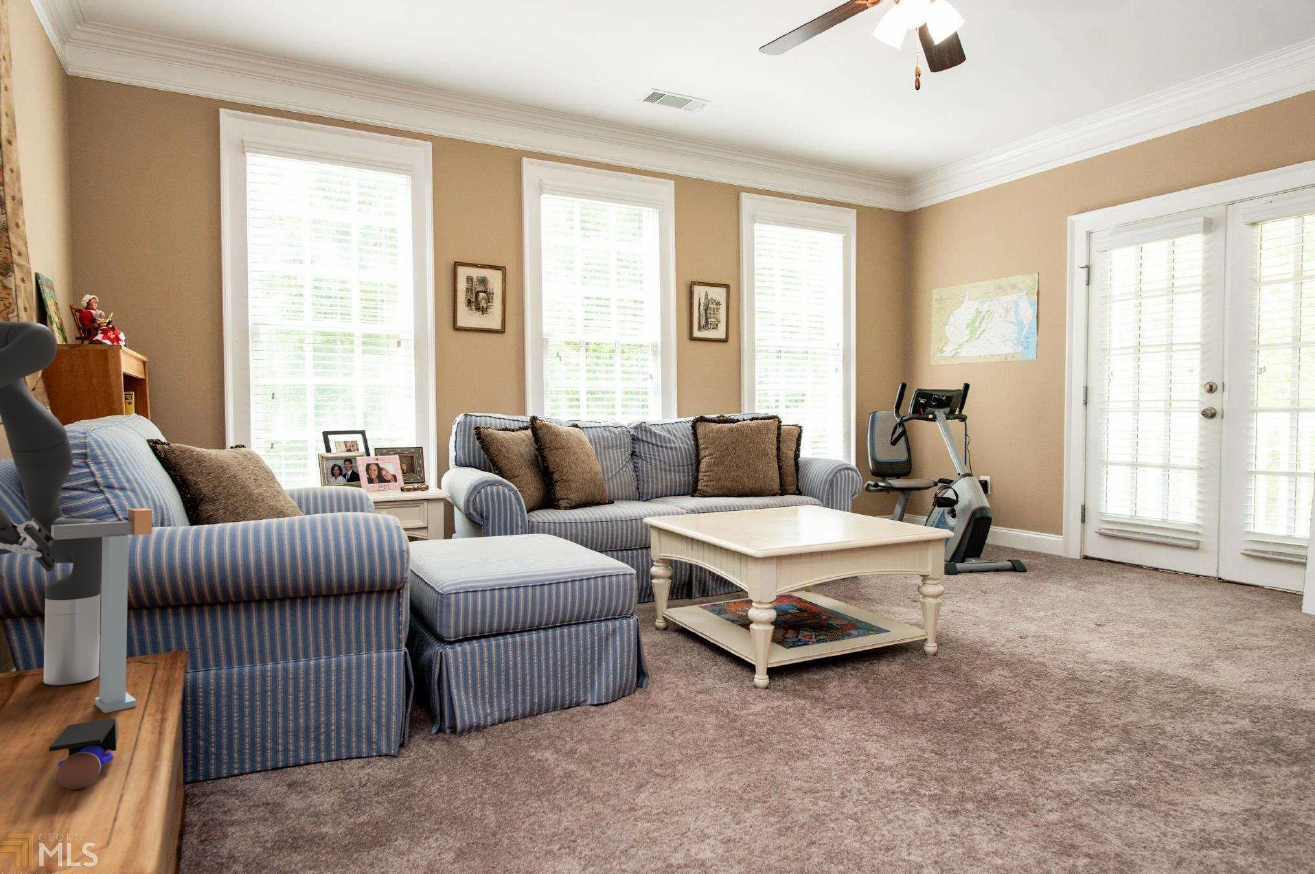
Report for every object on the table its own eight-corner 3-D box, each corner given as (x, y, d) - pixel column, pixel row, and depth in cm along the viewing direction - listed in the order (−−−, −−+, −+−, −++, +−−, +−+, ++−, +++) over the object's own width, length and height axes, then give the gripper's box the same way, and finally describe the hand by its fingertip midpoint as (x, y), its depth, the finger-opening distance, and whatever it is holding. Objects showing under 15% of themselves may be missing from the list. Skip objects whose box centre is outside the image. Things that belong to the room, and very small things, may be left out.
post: (94, 704, 148) (97, 534, 148) (125, 697, 152) (128, 532, 152) (104, 713, 143) (107, 537, 144) (136, 706, 147) (139, 535, 147)
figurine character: (68, 769, 123) (44, 798, 109) (70, 718, 123) (47, 740, 110) (120, 762, 126) (103, 789, 112) (122, 712, 127) (105, 733, 113)
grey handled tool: (49, 538, 142) (50, 512, 142) (144, 531, 153) (144, 508, 153) (55, 540, 139) (55, 514, 139) (151, 534, 150) (152, 509, 150)
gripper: (20, 482, 133) (75, 549, 143) (-72, 506, 131) (-10, 573, 141) (4, 509, 127) (62, 578, 137) (-93, 535, 125) (-26, 603, 135)
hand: (26, 575), depth 139 cm, fingers open, 8 cm apart
